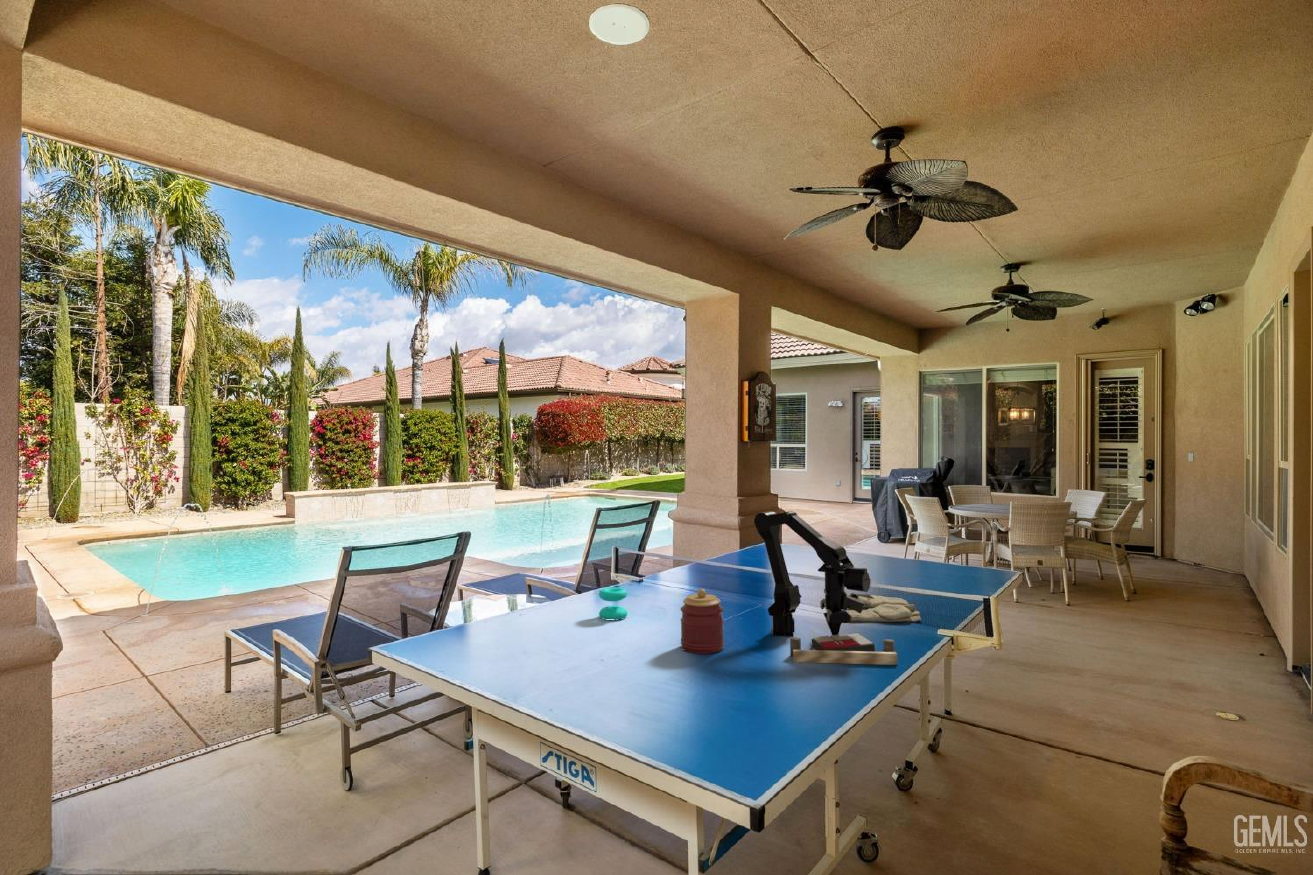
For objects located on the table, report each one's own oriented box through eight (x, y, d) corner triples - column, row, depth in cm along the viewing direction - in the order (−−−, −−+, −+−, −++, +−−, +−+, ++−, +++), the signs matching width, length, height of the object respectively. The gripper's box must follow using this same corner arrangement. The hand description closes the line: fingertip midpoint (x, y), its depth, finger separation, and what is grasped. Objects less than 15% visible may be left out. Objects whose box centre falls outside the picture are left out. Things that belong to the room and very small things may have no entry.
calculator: (810, 636, 197) (858, 631, 199) (811, 650, 197) (859, 645, 199) (824, 647, 186) (874, 641, 188) (825, 662, 186) (875, 656, 188)
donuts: (631, 590, 230) (604, 593, 226) (631, 619, 230) (604, 622, 226) (620, 585, 239) (594, 588, 235) (621, 612, 239) (595, 616, 235)
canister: (732, 647, 197) (732, 588, 198) (705, 657, 188) (705, 596, 188) (699, 638, 206) (698, 582, 206) (671, 648, 197) (671, 589, 197)
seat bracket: (791, 661, 184) (791, 644, 184) (789, 654, 190) (789, 636, 190) (899, 664, 180) (898, 646, 180) (893, 656, 187) (892, 639, 187)
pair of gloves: (835, 602, 253) (835, 588, 253) (904, 604, 249) (904, 590, 249) (847, 624, 223) (847, 608, 223) (926, 625, 219) (926, 610, 219)
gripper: (868, 594, 189) (869, 648, 189) (855, 581, 208) (856, 630, 208) (829, 594, 191) (829, 648, 190) (819, 580, 209) (820, 629, 209)
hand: (835, 638), depth 199 cm, fingers closed
